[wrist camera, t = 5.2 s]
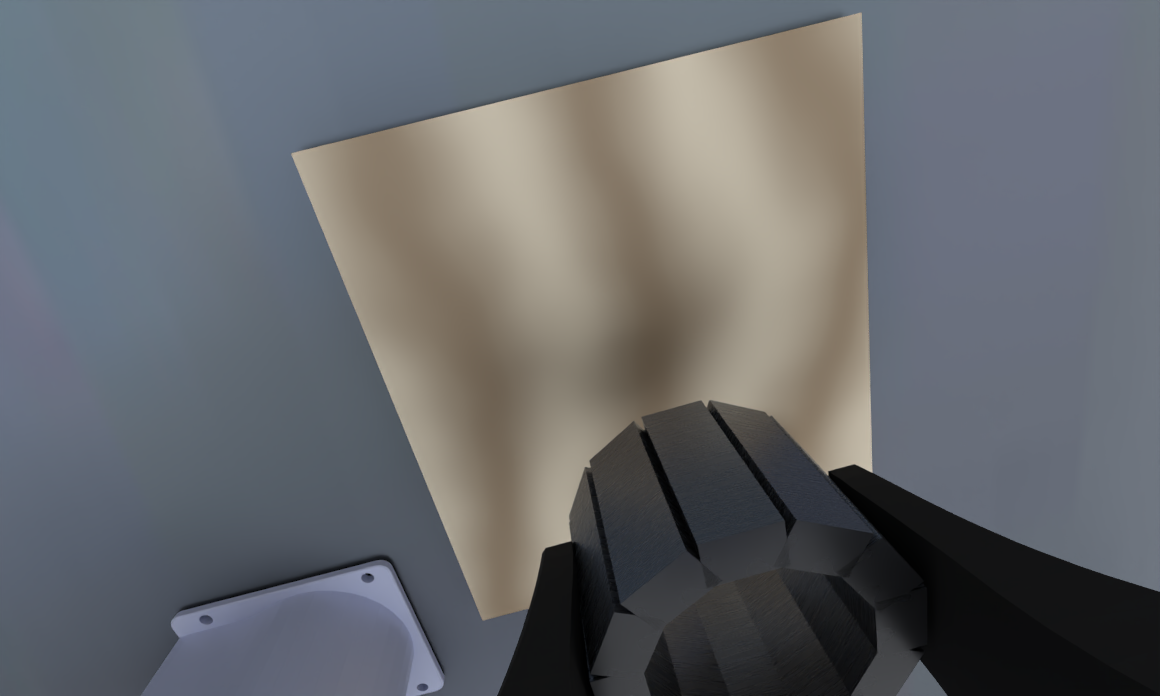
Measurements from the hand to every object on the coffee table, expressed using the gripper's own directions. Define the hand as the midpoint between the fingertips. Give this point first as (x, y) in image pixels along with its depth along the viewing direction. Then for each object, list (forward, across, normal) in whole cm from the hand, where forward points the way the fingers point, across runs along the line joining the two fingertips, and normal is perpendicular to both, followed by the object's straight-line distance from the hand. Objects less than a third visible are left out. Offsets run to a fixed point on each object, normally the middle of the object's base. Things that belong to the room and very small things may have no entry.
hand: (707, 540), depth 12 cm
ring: (+1, 0, 0) cm, 1 cm away
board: (+10, 0, 0) cm, 10 cm away
